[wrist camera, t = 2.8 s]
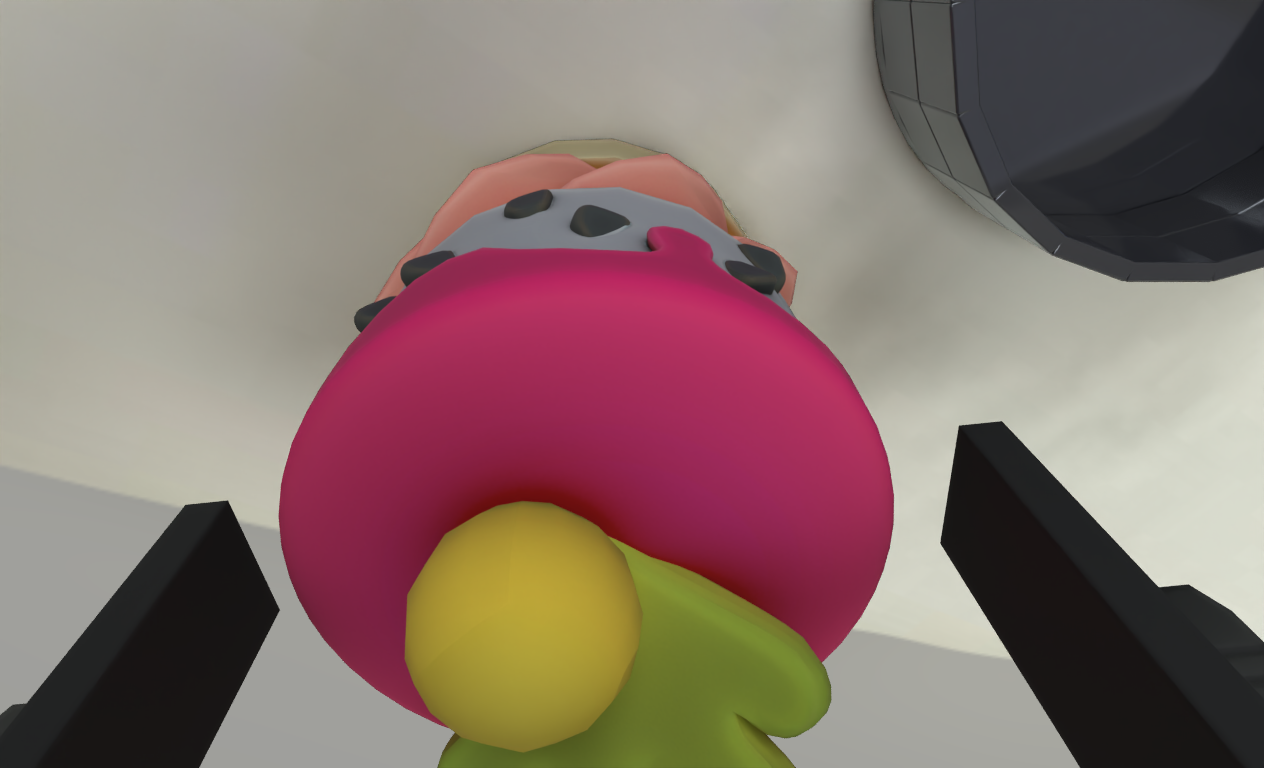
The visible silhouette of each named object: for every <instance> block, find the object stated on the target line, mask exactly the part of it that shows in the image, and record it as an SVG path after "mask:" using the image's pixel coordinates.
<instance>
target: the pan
mask: <svg viewBox="0 0 1264 768" xmlns="http://www.w3.org/2000/svg"><path fill="white" fill-rule="evenodd" d="M873 16H874V29H875V42H876V53H877V58H878V63H879V68H880V73H881V78H882V82H883V87H884V90H885V93H886V96H887V98H888V101H889V104H890V107H891V110H892V112H893V115H894V118H895V120H896V122H897V124H898V126H899V127H900V129H901V131H902V133H903V135H904V137H905V139H906V141H907V142H908V144H909V146H910V147H911V149H912V150H913V151H914V153H915V154H916V155H917V156H918V158H919V159H920V160H921V162H922V163H923V164H924V166H925V167H926V168H927V169H928V170H929V171H930V172H931V173H932V174H933V175H934V176H935V177H936V178H937V179H938V180H939V181H940V182H941V183H942V184H943V185H944V186H945V187H946V188H948V189H949V190H951V191H952V192H954V193H955V194H957V195H958V196H959V197H960V198H961V199H962V200H963V201H965V202H966V203H967V204H968V205H969V206H970V207H971V208H973V209H974V210H976V211H978V212H979V213H981V214H983V215H984V216H986V217H988V218H989V219H991V220H993V221H995V222H996V223H998V224H1000V225H1001V226H1003V227H1005V228H1006V229H1008V230H1010V231H1012V232H1013V233H1015V234H1017V235H1018V236H1020V237H1022V238H1023V239H1025V240H1027V241H1028V242H1030V243H1032V244H1033V245H1035V246H1037V247H1039V248H1040V249H1042V250H1044V251H1045V252H1047V253H1049V254H1050V255H1052V256H1055V257H1058V258H1060V259H1063V260H1066V261H1069V262H1071V263H1074V264H1077V265H1079V266H1082V267H1085V268H1088V269H1090V270H1093V271H1096V272H1099V273H1101V274H1104V275H1107V276H1110V277H1112V278H1115V279H1118V280H1121V281H1126V282H1210V281H1217V280H1220V279H1224V278H1227V277H1231V276H1234V275H1238V274H1242V273H1245V272H1249V271H1252V270H1256V269H1260V268H1263V267H1264V0H874V13H873Z"/></svg>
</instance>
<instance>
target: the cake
mask: <svg viewBox="0 0 1264 768" xmlns="http://www.w3.org/2000/svg"><path fill="white" fill-rule="evenodd" d="M796 277H797V271H796V270H795V269H794V268H793V267H792V266H791V265H790V264H789V263H788V262H787V261H786V260H785V259H784V258H783V257H782V256H781V255H780V254H779V253H778V252H777V251H776V250H774V249H772V248H769V247H767V246H765V245H762V244H760V243H757V242H755V241H753V240H750V239H748V238H747V237H746V235H745V233H744V232H743V230H742V229H741V227H740V226H739V224H738V223H737V222H736V220H735V219H734V217H733V216H732V214H731V213H730V212H729V210H728V209H727V207H726V206H725V204H724V203H723V202H722V200H721V199H720V197H719V196H718V194H717V193H716V192H715V190H714V189H713V188H712V187H711V186H710V185H709V184H708V183H707V181H706V180H705V179H704V178H703V176H702V175H700V174H699V173H697V172H695V171H694V170H692V169H691V168H689V167H688V166H686V165H684V164H683V163H681V162H680V161H678V160H677V159H675V158H674V157H672V156H670V155H669V154H667V153H666V154H661V153H658V152H655V151H651V150H648V149H645V148H641V147H638V146H635V145H631V144H628V143H625V142H622V141H618V140H615V139H596V140H564V141H553V142H550V143H548V144H545V145H543V146H540V147H537V148H535V149H532V150H529V151H527V152H524V153H521V154H519V155H516V156H513V157H511V158H508V159H505V160H503V161H501V162H498V163H494V164H491V165H487V166H484V167H480V168H477V169H474V170H472V171H471V173H470V174H469V175H468V176H467V177H466V179H465V180H464V181H463V182H462V183H461V185H460V186H459V187H458V188H457V189H456V190H455V192H454V193H453V194H452V195H451V196H450V198H449V199H448V200H447V201H446V202H445V204H444V205H443V206H442V207H441V208H440V209H439V211H438V212H437V213H436V214H435V216H434V218H433V220H432V222H431V224H430V226H429V228H428V230H427V232H426V234H425V236H424V238H423V239H422V240H421V241H420V242H419V243H418V244H417V245H416V246H415V247H414V248H413V249H412V250H411V251H410V252H408V253H407V254H406V255H405V256H404V257H403V258H402V259H401V260H400V261H399V263H398V264H397V266H396V268H395V269H394V271H393V273H392V274H391V276H390V277H389V279H388V281H387V282H386V284H385V285H384V287H383V289H382V290H381V292H380V294H379V295H378V297H377V298H376V300H375V302H374V303H372V304H370V305H367V306H365V307H363V308H361V309H360V310H359V311H358V312H357V313H356V314H355V317H354V322H355V325H356V327H357V329H358V330H359V331H360V332H361V333H360V334H359V336H358V337H357V338H356V339H355V340H354V341H353V342H352V343H351V345H350V346H349V347H348V348H347V350H346V351H345V353H344V354H343V355H342V357H341V358H340V360H339V361H338V363H337V364H336V365H335V367H334V368H333V370H332V371H331V373H330V374H329V375H328V377H327V379H326V380H325V382H324V383H323V385H322V386H321V388H320V389H319V391H318V393H317V394H316V396H315V398H314V400H313V402H312V403H311V405H310V407H309V409H308V410H307V412H306V414H305V417H304V419H303V421H302V423H301V425H300V427H299V429H298V431H297V433H296V435H295V438H294V440H293V442H292V445H291V448H290V452H289V456H288V459H287V463H286V466H285V470H284V473H283V478H282V483H281V492H280V505H279V525H280V536H281V546H282V550H283V554H284V558H285V562H286V565H287V569H288V573H289V576H290V579H291V582H292V584H293V587H294V589H295V592H296V594H297V596H298V599H299V601H300V602H301V604H302V606H303V608H304V610H305V611H306V613H307V615H308V617H309V619H310V620H311V622H312V623H313V625H314V626H315V627H316V629H317V630H318V632H319V633H320V635H321V636H322V637H323V639H324V640H325V641H326V642H327V643H328V645H329V646H330V647H331V648H332V649H333V650H334V651H335V652H336V653H337V654H338V656H339V657H340V658H341V659H342V660H343V661H344V662H345V663H346V664H347V665H348V666H349V667H350V668H351V669H352V670H353V671H355V672H356V673H357V674H358V675H359V676H361V677H362V678H363V679H365V681H367V682H368V683H369V684H370V685H371V686H373V687H374V688H375V689H376V690H378V691H380V692H381V693H382V694H384V695H386V696H387V697H389V698H390V699H392V700H394V701H395V702H396V703H398V704H400V705H401V706H403V707H404V708H406V709H408V710H410V711H412V712H414V713H416V714H418V715H420V716H422V717H424V718H426V719H429V720H431V721H432V722H435V723H437V724H439V725H441V726H444V727H447V728H450V729H451V730H453V731H454V732H455V733H454V735H453V736H452V737H451V739H450V740H449V742H448V743H447V745H446V747H445V749H444V750H443V752H442V755H441V758H440V761H439V764H438V768H796V767H795V766H794V765H793V764H792V762H791V761H790V760H789V759H788V758H787V756H786V755H785V754H784V753H783V752H782V751H781V750H780V749H779V748H778V747H777V746H776V745H775V744H774V742H773V741H772V740H771V739H770V738H769V737H768V736H767V735H771V736H776V737H781V738H791V737H796V736H798V735H800V734H802V733H804V732H805V731H807V730H809V729H810V728H812V727H813V726H814V725H815V724H816V723H817V722H818V721H819V720H820V719H821V718H822V717H823V716H824V715H825V714H826V713H827V711H828V708H829V705H830V703H831V684H830V681H829V678H828V675H827V672H826V669H825V667H824V665H823V664H822V662H823V661H824V660H825V659H826V658H827V657H828V656H829V655H830V654H831V653H832V652H833V651H834V650H835V649H836V648H837V647H838V646H839V645H840V644H841V643H842V641H843V640H844V639H845V637H846V636H847V635H848V633H849V632H850V631H851V629H852V628H853V627H854V625H855V624H856V623H857V621H858V620H859V619H860V617H861V616H862V614H863V612H864V610H865V609H866V607H867V605H868V603H869V601H870V600H871V598H872V596H873V594H874V592H875V590H876V587H877V585H878V582H879V580H880V577H881V575H882V572H883V570H884V566H885V562H886V559H887V555H888V552H889V549H890V543H891V536H892V530H893V522H894V493H893V486H892V480H891V473H890V466H889V462H888V457H887V454H886V451H885V448H884V445H883V442H882V440H881V437H880V434H879V431H878V428H877V425H876V424H875V422H874V420H873V418H872V416H871V414H870V413H869V411H868V409H867V407H866V405H865V403H864V401H863V400H862V398H861V396H860V394H859V392H858V390H857V389H856V387H855V385H854V383H853V381H852V379H851V378H850V376H849V375H848V373H847V372H846V370H845V368H844V367H843V365H842V364H841V363H840V362H839V360H838V359H837V358H836V357H835V356H834V354H833V353H832V352H831V351H830V350H829V348H828V347H827V346H826V345H825V344H824V343H823V342H822V341H820V340H819V339H818V338H817V337H816V336H815V335H814V334H813V333H812V332H811V331H810V330H809V329H808V328H806V327H805V326H804V325H803V324H802V323H801V322H800V321H798V320H797V319H796V317H795V316H794V314H793V312H792V311H791V309H790V305H791V303H792V299H793V294H794V288H795V283H796ZM766 734H767V735H766Z"/></svg>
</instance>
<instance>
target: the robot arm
mask: <svg viewBox="0 0 1264 768" xmlns="http://www.w3.org/2000/svg"><path fill="white" fill-rule="evenodd" d="M940 544H941V545H942V547H943V548H944V550H945V552H946V553H947V555H948V556H949V558H950V560H951V561H952V563H953V564H954V566H955V568H956V569H957V571H958V572H959V574H960V576H961V577H962V579H963V580H964V582H965V584H966V585H967V587H968V588H969V590H970V592H971V593H972V595H973V596H974V598H975V600H976V601H977V603H978V604H979V606H980V608H981V609H982V611H983V612H984V614H985V616H986V617H987V619H988V621H989V622H990V624H991V625H992V627H993V629H994V630H995V632H996V633H997V635H998V637H999V638H1000V640H1001V641H1002V643H1003V645H1004V646H1005V648H1006V649H1007V651H1008V653H1009V654H1010V656H1011V657H1012V659H1013V661H1014V662H1015V664H1016V665H1017V667H1018V669H1019V670H1020V672H1021V673H1022V675H1023V676H1024V678H1025V680H1026V681H1027V683H1028V684H1029V686H1030V688H1031V689H1032V691H1033V692H1034V694H1035V696H1036V697H1037V699H1038V701H1039V702H1040V704H1041V705H1042V707H1043V709H1044V710H1045V712H1046V714H1047V715H1048V717H1049V718H1050V719H1051V721H1052V723H1053V725H1054V726H1055V728H1056V730H1057V731H1058V733H1059V734H1060V736H1061V738H1062V739H1063V741H1064V742H1065V744H1066V746H1067V747H1068V749H1069V750H1070V752H1071V754H1072V755H1073V757H1074V758H1075V760H1076V762H1077V763H1078V765H1079V766H1080V768H1264V642H1263V641H1262V640H1261V639H1260V638H1259V637H1258V636H1257V635H1256V634H1255V633H1254V632H1253V631H1252V630H1251V629H1250V628H1249V627H1248V626H1247V625H1246V624H1245V623H1244V622H1243V621H1242V620H1241V619H1239V618H1238V617H1237V616H1236V615H1235V614H1234V613H1233V612H1232V611H1231V610H1229V609H1228V608H1226V607H1224V606H1223V605H1221V604H1219V603H1218V602H1216V601H1215V600H1213V599H1211V598H1210V597H1208V596H1206V595H1205V594H1203V593H1202V592H1200V591H1198V590H1197V589H1195V588H1193V587H1192V586H1190V585H1179V586H1169V587H1158V586H1157V585H1156V584H1155V583H1154V582H1153V581H1152V580H1151V579H1150V578H1149V577H1148V576H1147V574H1146V573H1145V572H1144V571H1143V570H1142V569H1141V568H1140V567H1139V566H1138V565H1137V564H1136V563H1135V562H1134V561H1133V560H1132V559H1131V558H1130V556H1129V555H1128V554H1127V553H1126V552H1125V551H1124V550H1123V549H1122V548H1121V547H1120V546H1119V545H1118V544H1117V543H1116V542H1115V541H1114V540H1113V538H1112V537H1111V536H1110V535H1109V534H1108V533H1107V532H1106V531H1105V530H1104V529H1103V528H1102V527H1101V526H1100V525H1099V524H1098V523H1097V522H1096V520H1095V519H1094V518H1093V517H1092V516H1091V515H1090V514H1089V513H1088V512H1087V511H1086V510H1085V509H1084V508H1083V507H1082V506H1081V505H1080V503H1079V502H1078V501H1077V500H1076V499H1075V498H1074V497H1073V496H1072V495H1071V494H1070V493H1069V492H1068V491H1067V490H1066V489H1065V488H1064V487H1063V485H1062V484H1061V483H1060V482H1059V481H1058V480H1057V479H1056V478H1055V477H1054V476H1053V475H1052V474H1051V473H1050V472H1049V471H1048V470H1047V469H1046V467H1045V466H1044V465H1043V464H1042V463H1041V462H1040V461H1039V460H1038V459H1037V458H1036V457H1035V456H1034V455H1033V454H1032V453H1031V452H1030V451H1029V449H1028V448H1027V447H1026V446H1025V445H1024V444H1023V443H1022V442H1021V441H1020V440H1019V439H1018V438H1017V437H1016V436H1015V435H1014V434H1013V433H1012V431H1011V430H1010V429H1009V428H1008V427H1007V426H1006V425H1005V424H1004V423H1003V422H1002V421H1000V422H991V423H981V424H971V425H961V426H959V429H958V435H957V441H956V448H955V454H954V460H953V466H952V473H951V479H950V485H949V492H948V498H947V504H946V510H945V517H944V523H943V529H942V536H941V542H940ZM279 611H280V609H279V607H278V605H277V603H276V601H275V599H274V597H273V595H272V593H271V591H270V588H269V587H268V584H267V582H266V580H265V578H264V576H263V574H262V571H261V569H260V567H259V565H258V563H257V561H256V559H255V557H254V555H253V553H252V550H251V548H250V546H249V544H248V542H247V540H246V538H245V536H244V533H243V531H242V529H241V527H240V525H239V523H238V521H237V519H236V517H235V514H234V512H233V510H232V508H231V506H230V504H229V502H228V501H219V502H210V503H200V504H190V505H185V506H184V508H183V509H182V510H181V511H180V513H179V514H178V515H177V516H176V518H175V519H174V520H173V521H172V523H171V524H170V525H169V526H168V528H167V529H166V530H165V531H164V533H163V534H162V535H161V536H160V538H159V539H158V540H157V542H156V543H155V544H154V545H153V546H152V548H151V549H150V550H149V551H148V553H147V554H146V555H145V556H144V558H143V559H142V560H141V561H140V563H139V564H138V565H137V566H136V568H135V569H134V570H133V572H132V573H131V574H130V575H129V576H128V578H127V579H126V580H125V581H124V583H123V584H122V585H121V586H120V588H119V589H118V590H117V591H116V593H115V594H114V595H113V596H112V598H111V599H110V600H109V601H108V603H107V604H106V605H105V606H104V608H103V609H102V610H101V612H100V613H99V614H98V615H97V616H96V618H95V619H94V620H93V621H92V623H91V624H90V625H89V626H88V628H87V629H86V630H85V631H84V633H83V634H82V635H81V636H80V638H79V639H78V640H77V641H76V643H75V644H74V645H73V646H72V648H71V649H70V650H69V651H68V653H67V654H66V655H65V656H64V658H63V659H62V660H61V661H60V663H59V664H58V665H57V666H56V668H55V669H54V670H53V671H52V673H51V674H50V675H49V676H48V678H47V679H46V680H45V681H44V683H43V684H42V685H41V686H40V688H39V689H38V690H37V691H36V693H35V694H34V695H33V696H32V698H31V699H30V700H29V701H28V703H27V704H16V705H12V706H11V707H9V708H8V709H7V710H6V711H5V712H3V713H2V714H1V715H0V768H199V767H200V765H201V763H202V761H203V759H204V757H205V755H206V753H207V751H208V749H209V747H210V745H211V743H212V741H213V740H214V738H215V736H216V733H217V732H218V730H219V728H220V726H221V724H222V722H223V720H224V718H225V716H226V714H227V712H228V710H229V708H230V706H231V704H232V702H233V700H234V699H235V696H236V695H237V692H238V691H239V689H240V687H241V685H242V683H243V681H244V679H245V677H246V675H247V673H248V671H249V669H250V667H251V665H252V663H253V661H254V659H255V658H256V656H257V654H258V652H259V650H260V648H261V646H262V644H263V642H264V640H265V638H266V636H267V634H268V632H269V630H270V628H271V626H272V624H273V622H274V620H275V618H276V616H277V614H278V612H279Z"/></svg>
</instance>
